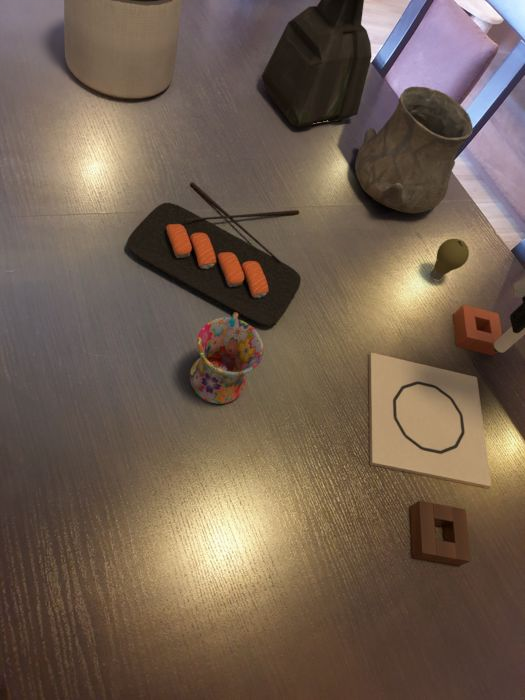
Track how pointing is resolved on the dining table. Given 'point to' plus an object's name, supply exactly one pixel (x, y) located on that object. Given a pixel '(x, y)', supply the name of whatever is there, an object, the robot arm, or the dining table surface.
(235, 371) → the mug
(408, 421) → the board
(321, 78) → the bottle
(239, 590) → the dining table surface
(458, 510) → the marker stand
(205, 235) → the sushi plate
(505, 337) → the marker
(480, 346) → the pen holder
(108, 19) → the planter
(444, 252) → the light bulb
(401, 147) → the vessel
